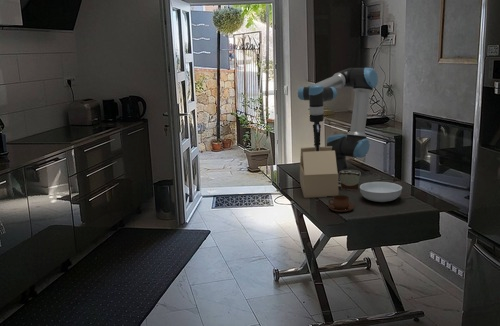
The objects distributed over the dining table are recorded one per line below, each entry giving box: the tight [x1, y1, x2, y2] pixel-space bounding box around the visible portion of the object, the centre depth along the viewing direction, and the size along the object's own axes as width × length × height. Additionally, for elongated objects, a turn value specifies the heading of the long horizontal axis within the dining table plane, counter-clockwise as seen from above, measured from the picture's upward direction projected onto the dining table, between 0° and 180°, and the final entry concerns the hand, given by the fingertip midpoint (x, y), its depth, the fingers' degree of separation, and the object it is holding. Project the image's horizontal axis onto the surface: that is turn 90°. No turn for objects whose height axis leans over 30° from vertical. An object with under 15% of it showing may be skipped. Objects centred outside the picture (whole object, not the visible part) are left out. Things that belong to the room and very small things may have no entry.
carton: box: [299, 162, 339, 199], centre depth 265 cm, size 18×28×12 cm, turn 178°
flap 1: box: [299, 146, 332, 164], centre depth 272 cm, size 17×14×1 cm
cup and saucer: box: [328, 194, 355, 213], centre depth 231 cm, size 12×12×6 cm
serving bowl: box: [359, 181, 403, 203], centre depth 243 cm, size 21×21×7 cm
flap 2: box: [303, 151, 339, 176], centre depth 253 cm, size 17×14×1 cm
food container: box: [338, 169, 362, 191], centre depth 264 cm, size 12×6×10 cm, turn 65°
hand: (317, 156), depth 264 cm, fingers closed
